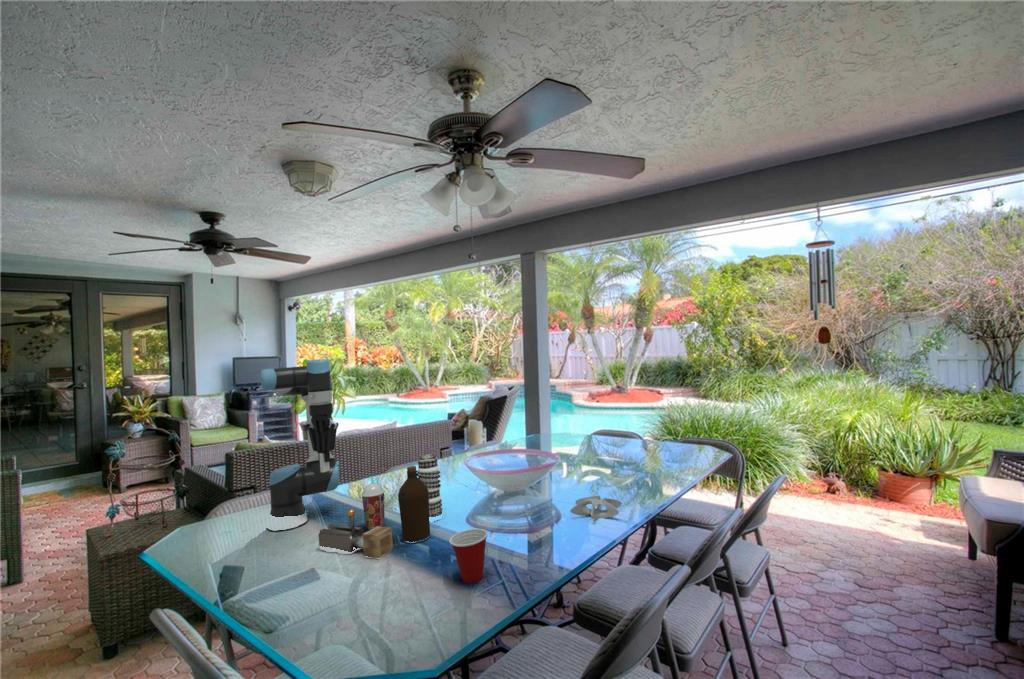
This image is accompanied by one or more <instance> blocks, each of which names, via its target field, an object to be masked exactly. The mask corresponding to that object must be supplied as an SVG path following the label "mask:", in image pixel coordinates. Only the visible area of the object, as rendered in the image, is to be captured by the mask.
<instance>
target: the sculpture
mask: <svg viewBox="0 0 1024 679" xmlns="http://www.w3.org/2000/svg"><path fill="white" fill-rule="evenodd" d="M574 503H575V505H574V506H573V507H572V508H570V510H569V511H570V513H571V514H573V515H576V516H582V517H591V519H592V520H598V519H605V518H612V517H615V516H618V515H619V514H620V511H619V508H620V507H621V506H622V504H623V503H622V502H621V501H620V500H618V499H614V498H606V497H603V498H601V496H599V495H592V496H587V497H582V498H579V499H577V500H575V502H574ZM587 505H591V508H589V507H587ZM601 506H604V507H605V508H606V509H603V510H602V509H601Z"/></svg>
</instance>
